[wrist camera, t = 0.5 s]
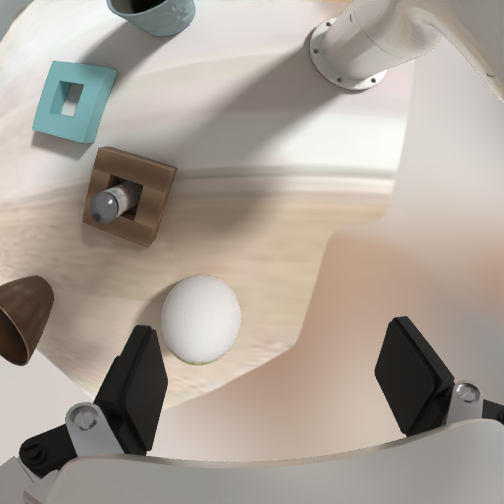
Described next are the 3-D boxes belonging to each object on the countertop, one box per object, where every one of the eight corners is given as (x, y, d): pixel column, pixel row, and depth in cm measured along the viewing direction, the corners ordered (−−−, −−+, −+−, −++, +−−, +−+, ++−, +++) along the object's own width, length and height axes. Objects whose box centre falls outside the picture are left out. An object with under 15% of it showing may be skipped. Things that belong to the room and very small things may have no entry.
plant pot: (73, 327, 52) (39, 375, 37) (26, 313, 51) (-10, 353, 36) (61, 264, 46) (13, 307, 31) (12, 255, 45) (-34, 289, 30)
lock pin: (123, 177, 41) (92, 189, 31) (145, 184, 41) (118, 198, 32) (117, 201, 42) (87, 218, 33) (138, 208, 43) (112, 227, 33)
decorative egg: (167, 317, 50) (145, 375, 36) (175, 257, 46) (148, 307, 32) (232, 332, 52) (229, 393, 38) (249, 274, 47) (249, 330, 33)
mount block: (108, 146, 39) (98, 147, 35) (176, 168, 40) (170, 170, 37) (92, 216, 43) (82, 222, 40) (155, 239, 45) (148, 247, 41)
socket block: (64, 64, 32) (53, 60, 29) (117, 71, 34) (108, 67, 31) (43, 128, 36) (31, 129, 33) (94, 142, 38) (83, 143, 35)
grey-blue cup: (211, -1, 30) (200, -39, 19) (181, 49, 34) (158, 21, 22) (155, -12, 28) (131, -46, 17) (126, 36, 32) (91, 12, 21)
